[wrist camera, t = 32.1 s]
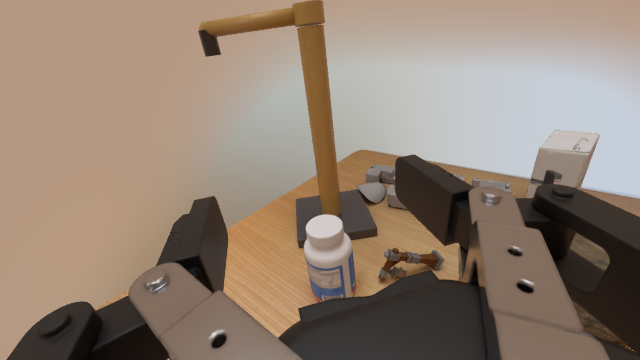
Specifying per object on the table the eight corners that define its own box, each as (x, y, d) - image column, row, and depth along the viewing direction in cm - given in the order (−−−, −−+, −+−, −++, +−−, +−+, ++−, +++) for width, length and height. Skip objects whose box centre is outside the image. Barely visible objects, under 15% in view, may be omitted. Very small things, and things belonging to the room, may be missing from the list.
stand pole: (339, 205, 46) (321, 25, 33) (342, 215, 43) (324, 23, 30) (321, 208, 46) (296, 29, 33) (323, 218, 43) (297, 27, 30)
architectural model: (369, 174, 58) (369, 152, 55) (507, 192, 46) (513, 166, 43) (348, 201, 49) (346, 177, 47) (511, 233, 37) (520, 202, 35)
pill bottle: (333, 264, 36) (326, 204, 31) (365, 286, 32) (361, 221, 28) (302, 289, 33) (289, 227, 28) (333, 317, 29) (323, 249, 24)
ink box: (534, 195, 44) (555, 127, 39) (573, 206, 41) (603, 132, 35) (517, 219, 39) (539, 145, 34) (560, 233, 36) (591, 153, 30)
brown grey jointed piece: (370, 273, 33) (383, 243, 31) (421, 275, 35) (435, 248, 34) (376, 284, 31) (390, 253, 29) (429, 285, 34) (445, 257, 32)
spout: (328, 40, 34) (324, 2, 32) (324, 40, 31) (320, -2, 29) (213, 55, 37) (203, 21, 35) (199, 57, 34) (188, 20, 32)
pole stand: (358, 195, 51) (358, 189, 50) (377, 235, 40) (377, 227, 39) (297, 205, 50) (295, 198, 49) (298, 248, 39) (297, 240, 39)
